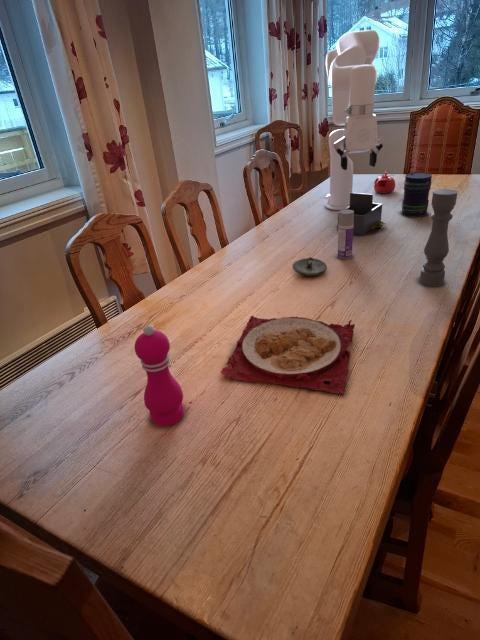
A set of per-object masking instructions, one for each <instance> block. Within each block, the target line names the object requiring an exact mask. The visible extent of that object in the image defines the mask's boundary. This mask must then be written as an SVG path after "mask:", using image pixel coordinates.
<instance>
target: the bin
mask: <svg viewBox="0 0 480 640" xmlns="http://www.w3.org/2000/svg"><path fill="white" fill-rule="evenodd" d="M344 210H353V211H354V229H353V234H359V235H358V236H363V235H364V234H365V233H366V232H368V231H369V230H370V229H372V227H373V226H374V225H376V224H377V223H378V222H379V221H381V222H382V213H383V211H382V210H383V203H378V202H374V194H373V193H363V192H354V191H352V192H351V193H350V206H349V207H347V208H346V209H344ZM338 226H339V212H338V213H337V227H338ZM364 236H365V235H364Z"/></svg>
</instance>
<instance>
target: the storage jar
mask: <svg viewBox="0 0 480 640" xmlns="http://www.w3.org/2000/svg"><path fill="white" fill-rule="evenodd" d="M432 178H433V174H431V173H429V172H419V171H418V172H410V173H406V174H405V175H404V182H403V191H404V192H403V198H402V201H401V202H402V203H401V211H400V214H401V215H402V216H404V217H407V218H408V217H410V218H419V217H421V218H422V217H424V216H427V214H428V208H429V202H430V200H429V195H430V191H431V188H432V187H431V186H432Z"/></svg>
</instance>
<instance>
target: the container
mask: <svg viewBox="0 0 480 640" xmlns="http://www.w3.org/2000/svg"><path fill="white" fill-rule="evenodd" d="M338 213H339V226H338V225H337V258H338V259H340V260H349V259H352V258H353V246H354V235H353V229H354V211H353V210H338Z"/></svg>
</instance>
